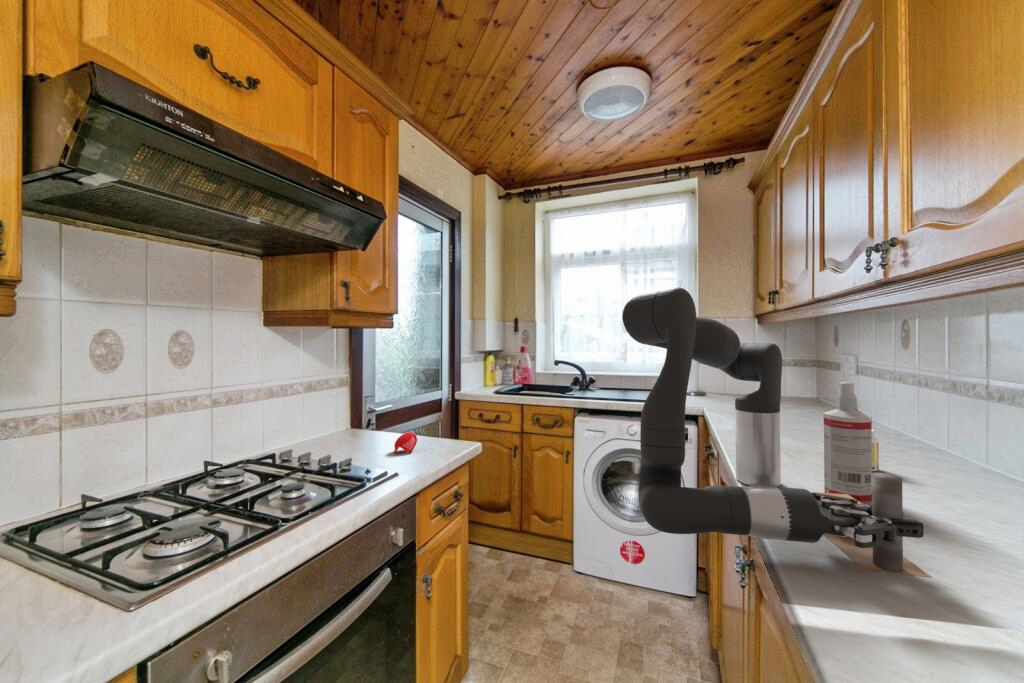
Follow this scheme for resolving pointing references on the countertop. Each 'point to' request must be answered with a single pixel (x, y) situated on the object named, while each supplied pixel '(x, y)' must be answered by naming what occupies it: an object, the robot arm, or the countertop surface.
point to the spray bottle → (848, 448)
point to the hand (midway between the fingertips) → (910, 522)
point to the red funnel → (406, 442)
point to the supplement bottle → (875, 453)
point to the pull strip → (868, 557)
